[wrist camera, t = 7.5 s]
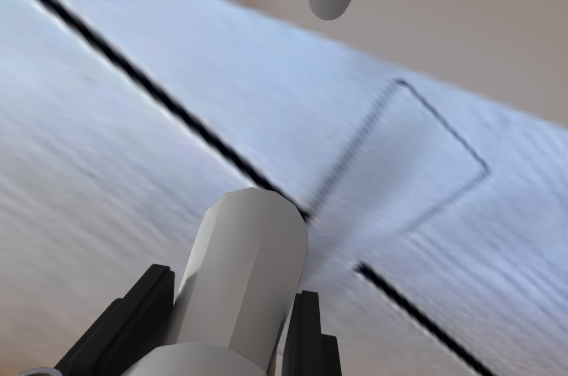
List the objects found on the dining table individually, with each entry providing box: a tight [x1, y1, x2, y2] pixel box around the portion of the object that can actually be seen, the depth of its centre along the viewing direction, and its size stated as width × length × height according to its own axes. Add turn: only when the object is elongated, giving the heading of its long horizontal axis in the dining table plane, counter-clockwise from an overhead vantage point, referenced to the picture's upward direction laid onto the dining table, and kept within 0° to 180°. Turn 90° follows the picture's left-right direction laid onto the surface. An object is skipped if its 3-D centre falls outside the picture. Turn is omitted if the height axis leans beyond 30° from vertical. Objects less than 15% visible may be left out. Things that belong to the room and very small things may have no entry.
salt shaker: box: [121, 187, 308, 376], centre depth 12 cm, size 6×6×13 cm
